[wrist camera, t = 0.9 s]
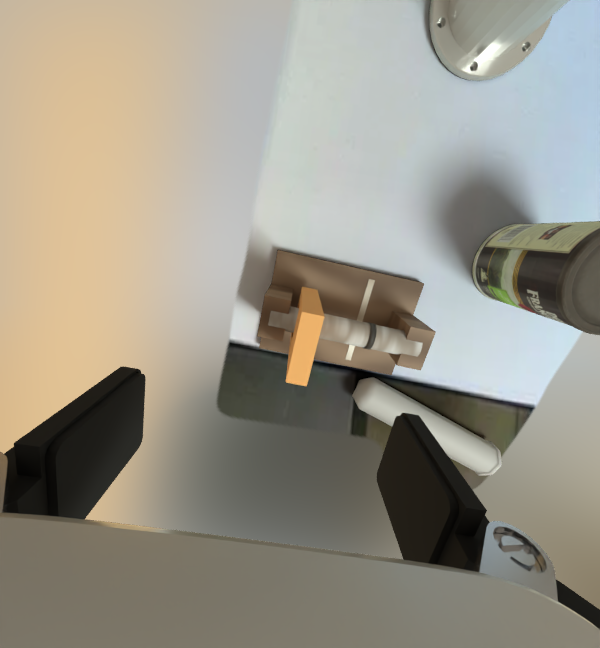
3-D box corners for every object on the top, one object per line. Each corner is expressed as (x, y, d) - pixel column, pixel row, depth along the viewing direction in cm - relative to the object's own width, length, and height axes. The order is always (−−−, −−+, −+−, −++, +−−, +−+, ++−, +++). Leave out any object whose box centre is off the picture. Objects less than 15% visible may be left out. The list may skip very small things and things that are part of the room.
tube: (345, 410, 41) (477, 481, 45) (368, 391, 38) (507, 468, 42) (347, 384, 45) (467, 450, 49) (367, 364, 42) (494, 436, 46)
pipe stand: (278, 249, 38) (272, 254, 29) (420, 282, 39) (452, 295, 31) (260, 344, 42) (250, 371, 34) (389, 371, 43) (409, 403, 35)
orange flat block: (301, 286, 36) (301, 311, 24) (317, 289, 36) (324, 316, 24) (290, 336, 38) (285, 382, 26) (305, 340, 38) (306, 386, 26)
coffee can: (511, 314, 40) (616, 354, 27) (455, 276, 39) (537, 300, 25) (567, 250, 37) (714, 260, 24) (509, 207, 36) (633, 192, 22)
